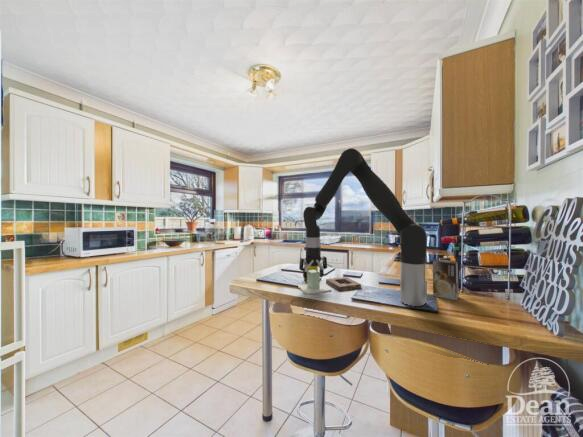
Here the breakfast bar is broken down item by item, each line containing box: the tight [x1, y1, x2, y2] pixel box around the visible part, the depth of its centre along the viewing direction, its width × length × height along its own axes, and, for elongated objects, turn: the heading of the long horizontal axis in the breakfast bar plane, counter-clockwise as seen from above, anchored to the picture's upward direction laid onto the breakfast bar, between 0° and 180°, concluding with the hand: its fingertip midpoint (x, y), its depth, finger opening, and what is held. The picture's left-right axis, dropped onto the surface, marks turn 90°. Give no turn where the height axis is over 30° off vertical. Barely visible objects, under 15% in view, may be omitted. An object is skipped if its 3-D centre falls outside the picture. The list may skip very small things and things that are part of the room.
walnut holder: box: [325, 276, 362, 292], centre depth 123 cm, size 12×14×2 cm
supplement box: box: [303, 261, 319, 281], centre depth 133 cm, size 6×6×11 cm
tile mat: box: [296, 282, 332, 295], centre depth 118 cm, size 13×13×1 cm
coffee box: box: [432, 259, 459, 301], centre depth 105 cm, size 9×6×16 cm
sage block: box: [307, 270, 321, 289], centre depth 118 cm, size 4×6×8 cm, turn 19°
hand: (313, 277), depth 118 cm, fingers open, 8 cm apart
